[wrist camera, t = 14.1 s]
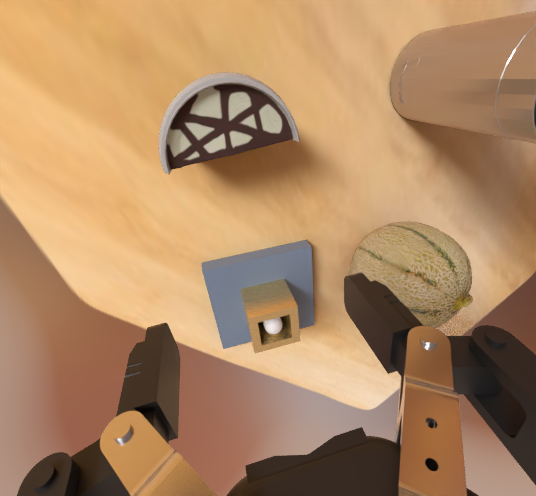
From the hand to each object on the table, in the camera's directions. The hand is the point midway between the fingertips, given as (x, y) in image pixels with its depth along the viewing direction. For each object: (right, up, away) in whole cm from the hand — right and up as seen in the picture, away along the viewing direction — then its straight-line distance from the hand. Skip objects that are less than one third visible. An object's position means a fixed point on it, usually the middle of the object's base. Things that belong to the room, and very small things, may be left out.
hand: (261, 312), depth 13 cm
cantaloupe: (+17, +3, +33) cm, 38 cm away
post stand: (-1, -4, +32) cm, 32 cm away
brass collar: (0, -5, +30) cm, 31 cm away
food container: (-5, +18, +18) cm, 26 cm away
